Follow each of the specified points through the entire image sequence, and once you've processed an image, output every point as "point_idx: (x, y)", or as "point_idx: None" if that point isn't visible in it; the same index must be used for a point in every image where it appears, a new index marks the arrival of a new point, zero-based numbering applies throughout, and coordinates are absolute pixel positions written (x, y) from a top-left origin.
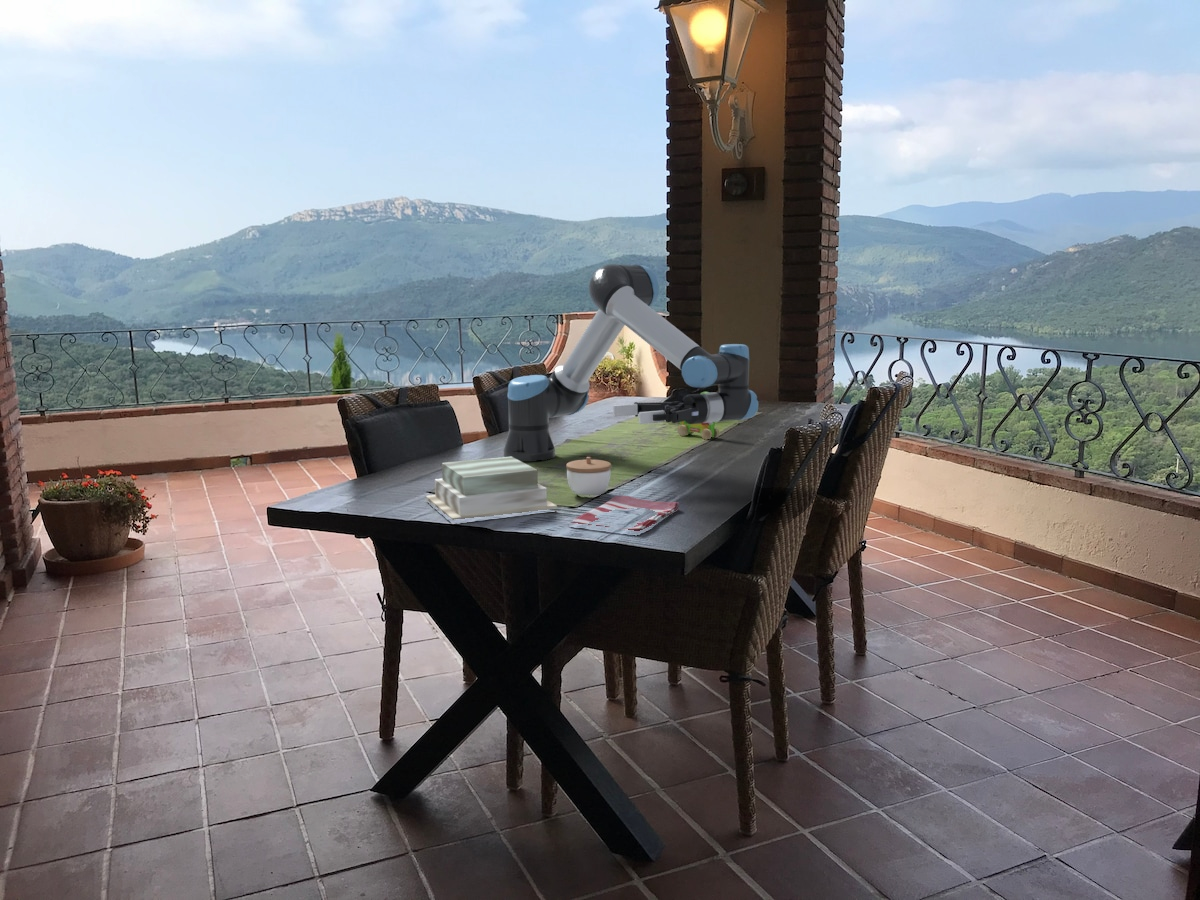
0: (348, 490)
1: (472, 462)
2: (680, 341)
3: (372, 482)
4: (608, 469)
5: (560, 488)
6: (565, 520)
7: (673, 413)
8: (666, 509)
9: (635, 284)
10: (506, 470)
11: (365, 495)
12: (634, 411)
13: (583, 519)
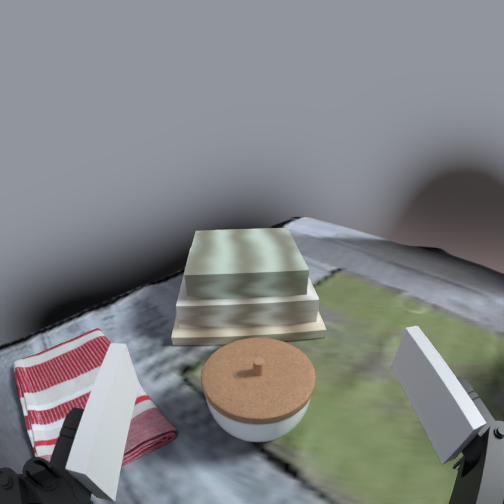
0: (355, 237)
1: (278, 241)
2: None
3: (386, 246)
4: (212, 406)
5: (333, 387)
6: (128, 340)
7: (5, 471)
8: (47, 456)
9: None
10: (205, 254)
11: (334, 241)
12: (445, 439)
13: (92, 340)
